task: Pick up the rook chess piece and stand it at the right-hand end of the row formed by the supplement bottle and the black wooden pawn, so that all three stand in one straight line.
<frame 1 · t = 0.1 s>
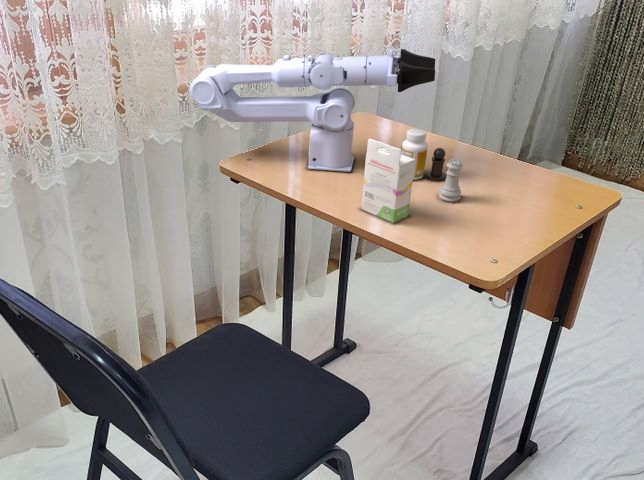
hand: (435, 69, 148), 22 cm above the table, tool horizontal, fingers open, 7 cm apart
ink box: (384, 213, 145), on the table
supplement bottle: (410, 176, 160), on the table
ebony pawn: (435, 177, 159), on the table
rook chess piece: (449, 199, 150), on the table
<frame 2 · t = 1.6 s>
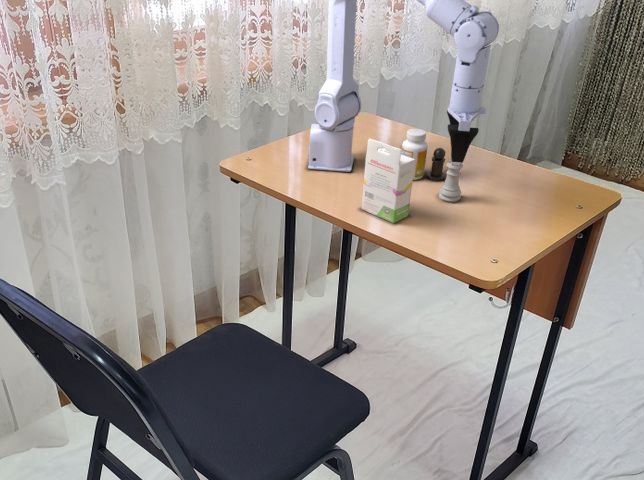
hand: (456, 154, 145), 9 cm above the table, tool pointing down, fingers open, 7 cm apart
nothing on the table moved.
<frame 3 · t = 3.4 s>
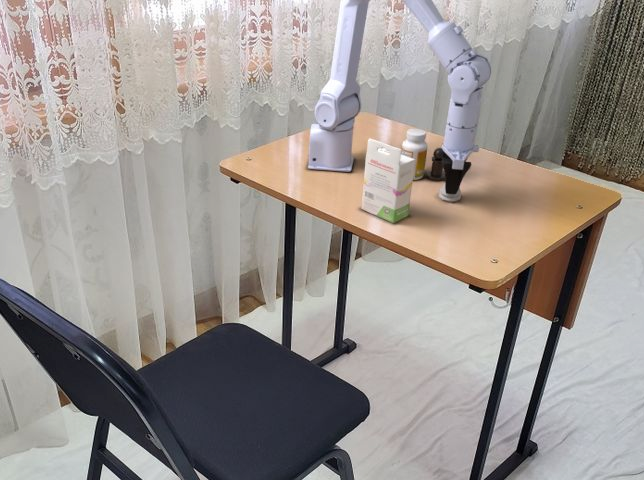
hand: (450, 189, 149), 2 cm above the table, tool pointing down, fingers closed on rook chess piece, 3 cm apart
rook chess piece: (449, 199, 151), on the table, touching gripper
everything else where it was.
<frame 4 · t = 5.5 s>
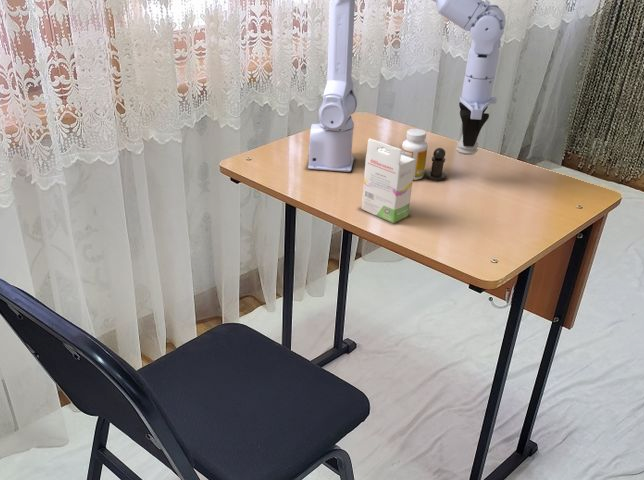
hand: (468, 142, 152), 9 cm above the table, tool pointing down, fingers closed on rook chess piece, 3 cm apart
rook chess piece: (466, 152, 153), point 6 cm above the table, touching gripper
everything else where it was.
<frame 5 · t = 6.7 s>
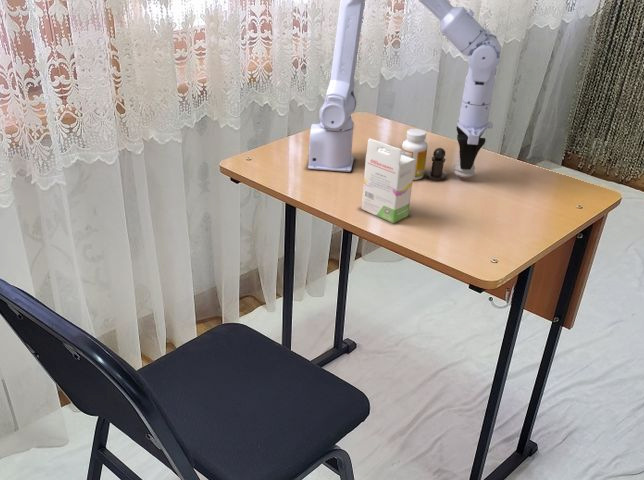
hand: (465, 165, 156), 3 cm above the table, tool pointing down, fingers closed on rook chess piece, 3 cm apart
rook chess piece: (463, 174, 157), point 1 cm above the table, touching gripper
everything else where it was.
when the fingers open (2 cm above the table, at t = 7.5 s): rook chess piece stays where it is, on the table.
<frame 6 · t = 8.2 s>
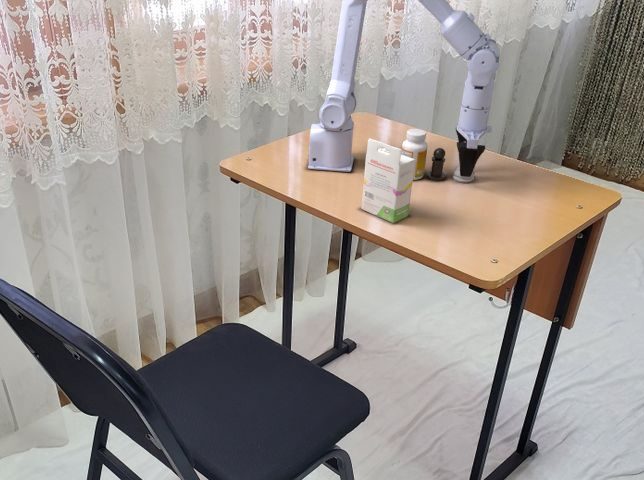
hand: (464, 168, 156), 2 cm above the table, tool pointing down, fingers open, 7 cm apart
rook chess piece: (462, 180, 158), on the table
everything else where it was.
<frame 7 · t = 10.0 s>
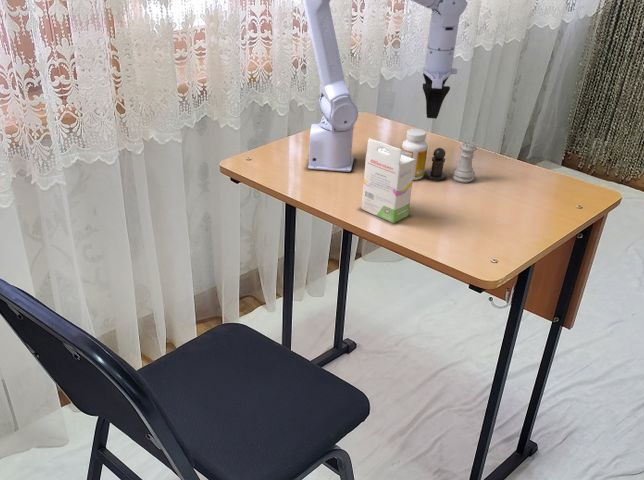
hand: (431, 111, 161), 10 cm above the table, tool pointing down, fingers open, 7 cm apart
nothing on the table moved.
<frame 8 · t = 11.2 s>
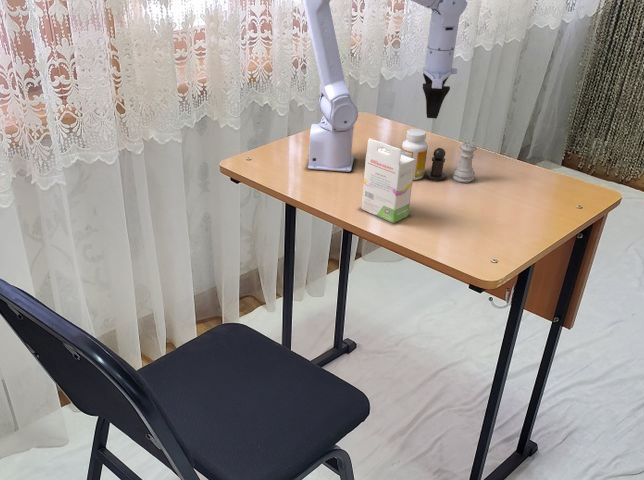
hand: (431, 111, 161), 10 cm above the table, tool pointing down, fingers open, 7 cm apart
nothing on the table moved.
at the end: rook chess piece 0.2 cm from the target spot on the table beside the ebony pawn, on the table; rook chess piece 0.0 cm from the target spot on the table beside the supplement bottle, on the table; rook chess piece tilted 0° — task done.
